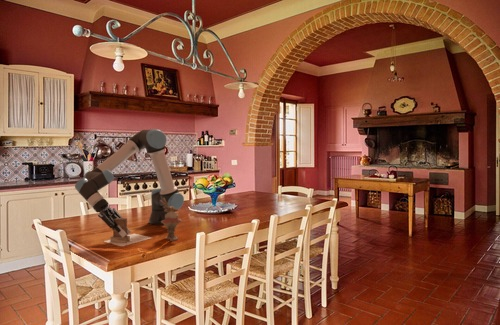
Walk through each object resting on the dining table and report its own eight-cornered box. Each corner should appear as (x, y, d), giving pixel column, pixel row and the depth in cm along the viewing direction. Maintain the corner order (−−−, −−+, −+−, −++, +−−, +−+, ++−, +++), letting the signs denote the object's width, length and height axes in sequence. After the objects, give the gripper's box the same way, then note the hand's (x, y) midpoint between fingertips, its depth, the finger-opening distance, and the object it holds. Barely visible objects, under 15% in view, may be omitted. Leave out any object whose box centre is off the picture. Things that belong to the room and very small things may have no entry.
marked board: (134, 235, 203) (134, 233, 203) (152, 239, 194) (152, 237, 194) (103, 243, 187) (103, 241, 187) (121, 248, 178) (121, 246, 178)
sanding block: (114, 239, 189) (114, 217, 188) (129, 240, 188) (129, 218, 187) (110, 241, 185) (110, 219, 185) (126, 242, 184) (126, 220, 183)
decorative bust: (171, 232, 206) (171, 192, 201) (184, 239, 198) (184, 197, 192) (155, 237, 198) (154, 195, 193) (168, 245, 190) (167, 201, 184)
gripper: (103, 204, 196) (130, 235, 195) (83, 210, 180) (113, 243, 178) (111, 195, 195) (139, 226, 193) (93, 200, 178) (123, 234, 177)
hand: (127, 234), depth 186 cm, fingers closed on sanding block, 4 cm apart
